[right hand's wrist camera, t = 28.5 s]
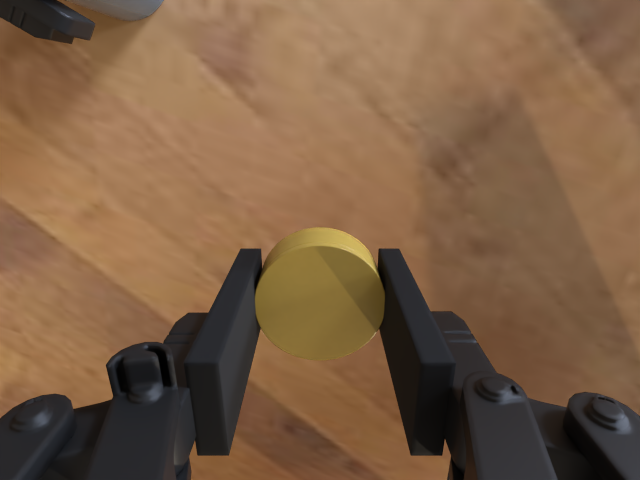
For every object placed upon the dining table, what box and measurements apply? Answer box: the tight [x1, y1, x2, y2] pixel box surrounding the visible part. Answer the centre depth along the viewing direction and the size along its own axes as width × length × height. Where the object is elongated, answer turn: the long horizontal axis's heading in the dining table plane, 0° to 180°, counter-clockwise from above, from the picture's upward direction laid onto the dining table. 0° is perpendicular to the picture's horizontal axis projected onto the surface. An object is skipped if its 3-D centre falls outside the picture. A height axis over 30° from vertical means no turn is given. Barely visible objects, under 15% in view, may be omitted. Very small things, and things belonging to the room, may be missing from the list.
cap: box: [255, 227, 385, 360], centre depth 14 cm, size 4×4×2 cm
